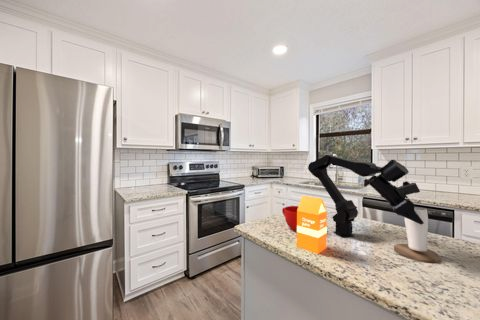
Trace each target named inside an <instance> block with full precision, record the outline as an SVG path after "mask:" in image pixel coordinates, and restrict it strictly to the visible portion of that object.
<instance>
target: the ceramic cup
mask: <svg viewBox="0 0 480 320" xmlns="http://www.w3.org/2000/svg"><path fill="white" fill-rule="evenodd" d="M298 207H299V205H289V206H285V207H283V208H282V209H281V210H282V214H283V216H284V219H285V222H286V224H287V226H288V227H289V229H290V230H291V231H294V232H297V210H298Z"/></svg>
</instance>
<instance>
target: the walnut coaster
mask: <svg viewBox="0 0 480 320" xmlns="http://www.w3.org/2000/svg"><path fill="white" fill-rule="evenodd" d="M393 251H394V252H395V253H397V254H398V255H400V256H401V257H404V258H406V259H409V260H413V261H417V262H420V263H427V264H429V263H430V264H434V263H439V262H440V261H441V256H440V254H438V253H437V252H435V251H434V250H431V249H428V248H427V251H424V252H421V251H415V250H412V249H410V248H409V247H408V243H397V244H394V245H393Z"/></svg>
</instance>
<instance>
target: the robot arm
mask: <svg viewBox="0 0 480 320" xmlns="http://www.w3.org/2000/svg"><path fill="white" fill-rule="evenodd" d="M330 165H334V166H336V167H337V166H338V167H341V168H343V169H348V170H350V171H352V172H353V173H354V174H356V175H358V176H361V177H364V179H363V188H366V187H367V186H371V188H373V189H374V190H375V191H376V192H377V193H378V194H379V195H380V197H381V198H383V199H384V200H385V201H386V202H388V204H389V205H390V206H391V207H392V210H393V212H394V213H395V214H396V215H397V216H401V217H403V218H404V217H405V218H408V219H410V220H412V221H414V222H416V223H419V224H421V225H422V224H423V223H424V222H423V221H422V220H421V218H420V217H419V216H418V215H417V213H416V212H415V211H414V207H416V206H415V205H416V204H415V203H414V202H412V200H411V199H410V197H408V196H409V195H412V194H419V193H420V192H421V190H420V188H419V187H418V185H417V183H416V182H409V181H403V182H402V185H400V186H398V187H397V186H396V185H393V184H392V183H395V182H397V181H398V180H400V179H402V178H403V177H404V176H406V175H407V174H409V170H408V169H407V167H406V166H405V165H403V164H401V163H400V162H399V161H397V160H396V159H391V160H390V161H388V163H385V165H384V166H382V167H381V166H377V164H376V163H374V162H367V161H366V162H365V161H354V160H351V159H347V158H343V157H339V156H336V155H333V154H325V155H323V156H322V157H319V158H318V159H315V160H314V161H311V162H309V164H308V167H307V169H308V171H309V173H310V174H312V176H313V177H315V178H316V179H317V180H319V182H320V183H321V185H322V186H323V187H324V189H325V191H326V193H328V195H329V197H330V198H331V199H332V201H333V203H334V205H335V211H336V213H335V214H334V215H332V219H333V220H332V221H333V222H334V223H335V230H334V231H332V233H334V234H335V235H337V236H339V237H340V238H349V237H350V238H351V237H355V235H354V234H353V222H354V221H355V219H356V218H357V217H358V215H359V211H358V206H356V205H355V203H354V202H353V200H351V199H350V200H347V199H346V198H345V197H344V196H343V194H342V193H341V191H340V189H339V188H338V187H337V185H336V184H335V182H333V180H332V178H331V177H330V175H329V174H328V167H330ZM377 174H378V175H377ZM365 177H369V178H365ZM391 182H392V183H391Z"/></svg>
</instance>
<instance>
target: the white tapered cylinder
mask: <svg viewBox="0 0 480 320" xmlns="http://www.w3.org/2000/svg"><path fill="white" fill-rule="evenodd" d="M414 211H415V212H416V213H417V215H418V216H419V217H420V218H421V220H422V221H423V222H424V223H423V224H422V225H421V224H419V223H416V222H414V221H412V220H410V219H408V218H405V217H403V219H404V225H405V231H406V236H407V237H406V238H407V244H408V247H409V248H410V249H412V250H415V251H421V252H424V251H427V249H428V232H429V216H428V209H427V208H425V207H419V206H415V207H414Z"/></svg>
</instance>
